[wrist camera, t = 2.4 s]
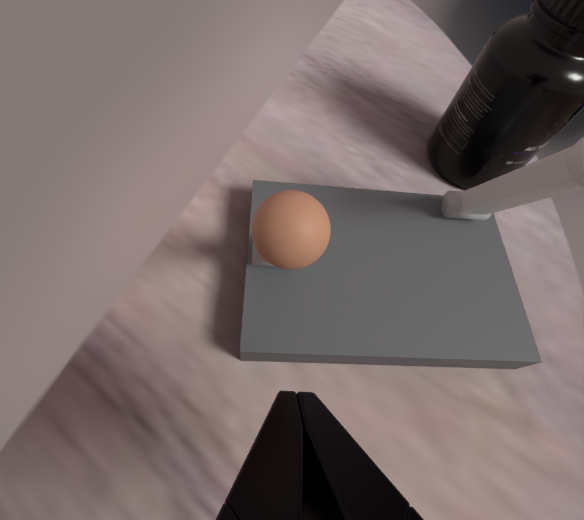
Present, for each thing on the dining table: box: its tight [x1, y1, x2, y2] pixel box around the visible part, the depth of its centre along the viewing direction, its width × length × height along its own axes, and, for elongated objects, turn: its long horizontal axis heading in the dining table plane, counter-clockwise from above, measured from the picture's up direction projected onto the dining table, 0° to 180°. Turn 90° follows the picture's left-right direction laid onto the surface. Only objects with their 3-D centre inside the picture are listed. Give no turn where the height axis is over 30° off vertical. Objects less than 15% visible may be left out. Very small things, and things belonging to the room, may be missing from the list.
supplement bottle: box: [428, 0, 584, 189], centre depth 22 cm, size 7×7×12 cm
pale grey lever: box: [441, 137, 584, 220], centre depth 16 cm, size 2×2×10 cm
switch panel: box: [240, 180, 542, 369], centre depth 20 cm, size 10×16×2 cm
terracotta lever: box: [251, 190, 331, 270], centre depth 13 cm, size 2×2×10 cm
